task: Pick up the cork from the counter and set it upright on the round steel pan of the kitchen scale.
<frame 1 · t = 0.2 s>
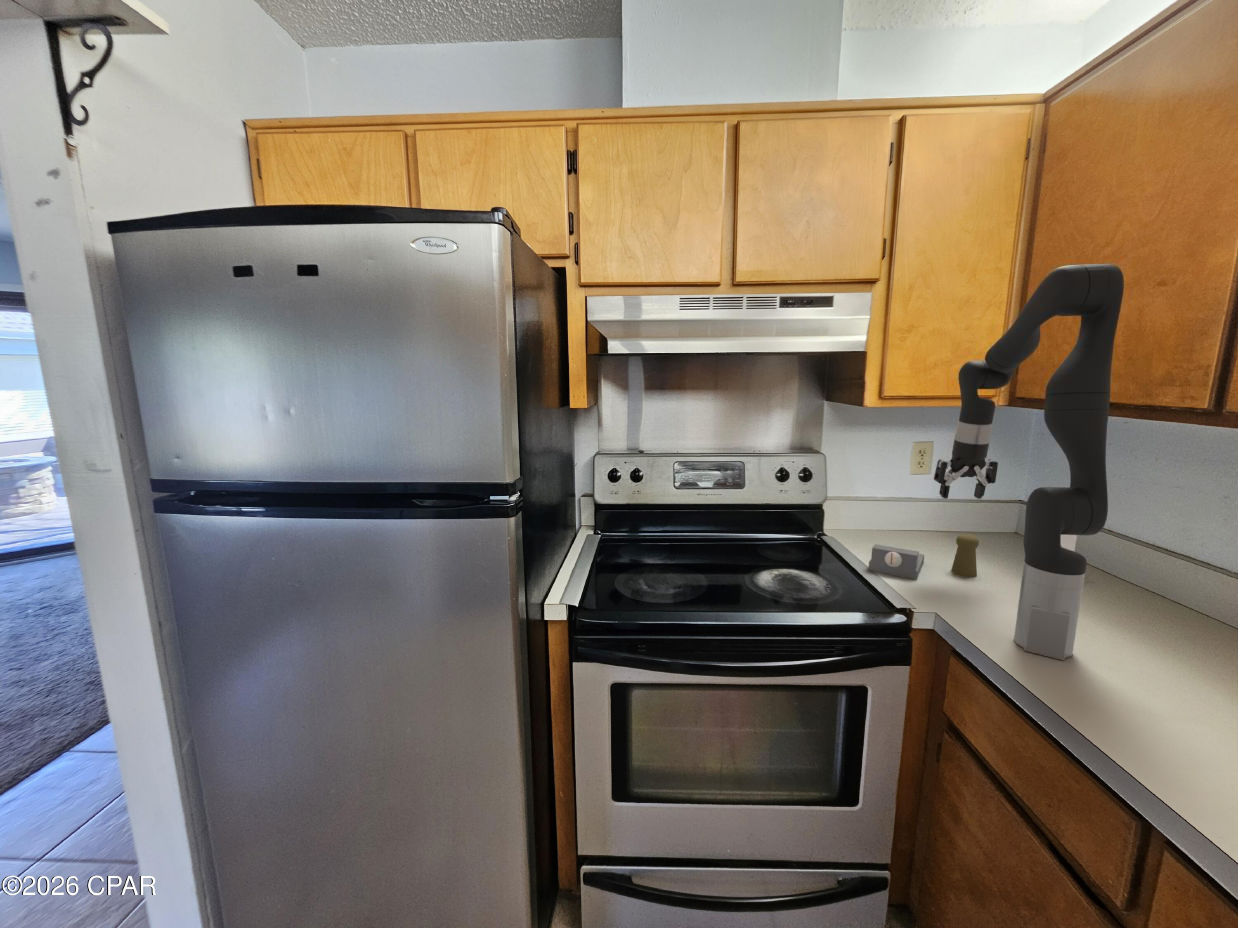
hand: (960, 497, 134), 22 cm above the worktop, tool pointing down, fingers open, 8 cm apart
milk: (1051, 569, 143), on the worktop
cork: (963, 573, 140), on the worktop
kitchen scale: (896, 566, 146), on the worktop
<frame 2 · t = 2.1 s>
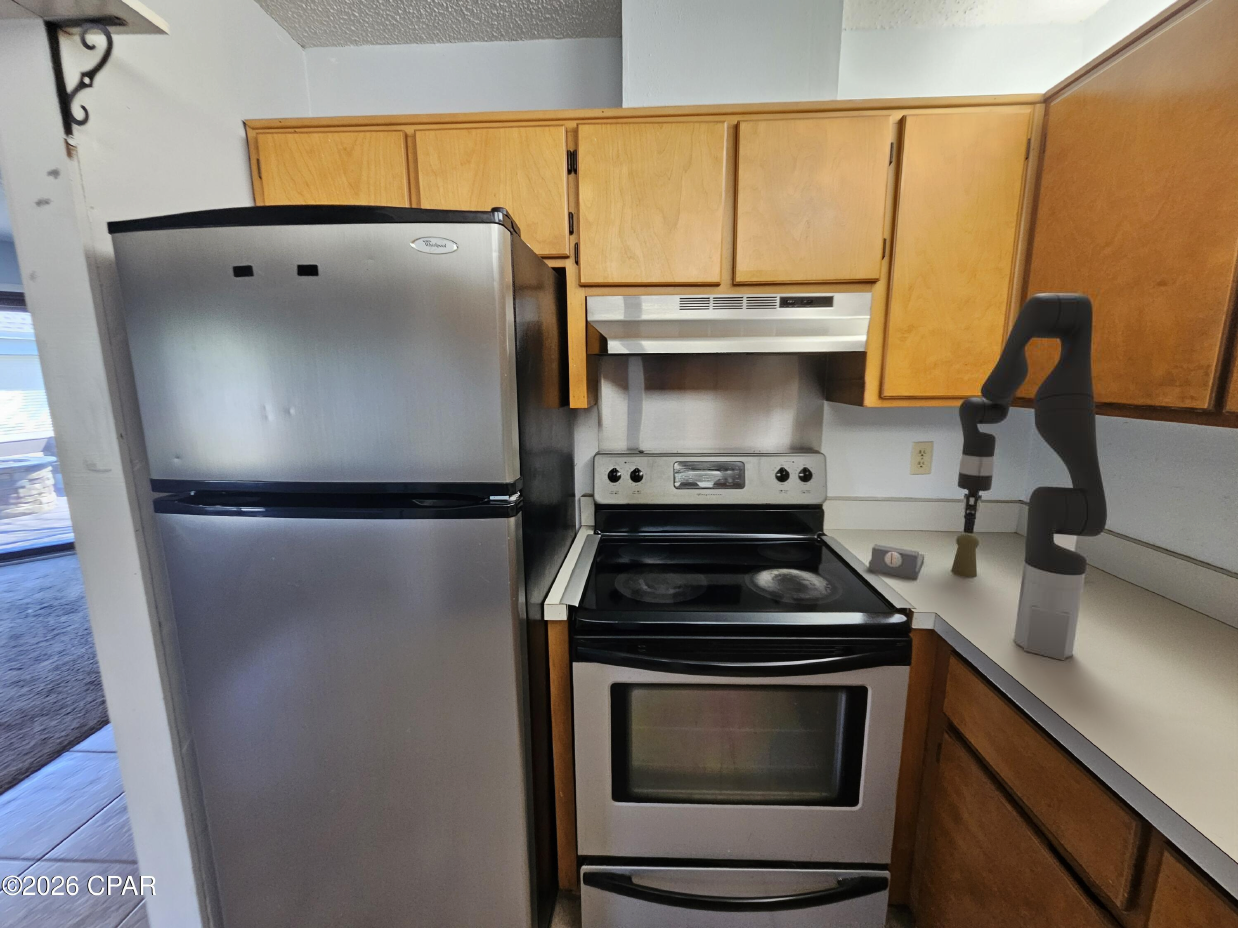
hand: (969, 528, 138), 13 cm above the worktop, tool pointing down, fingers open, 8 cm apart
nothing on the worktop moved.
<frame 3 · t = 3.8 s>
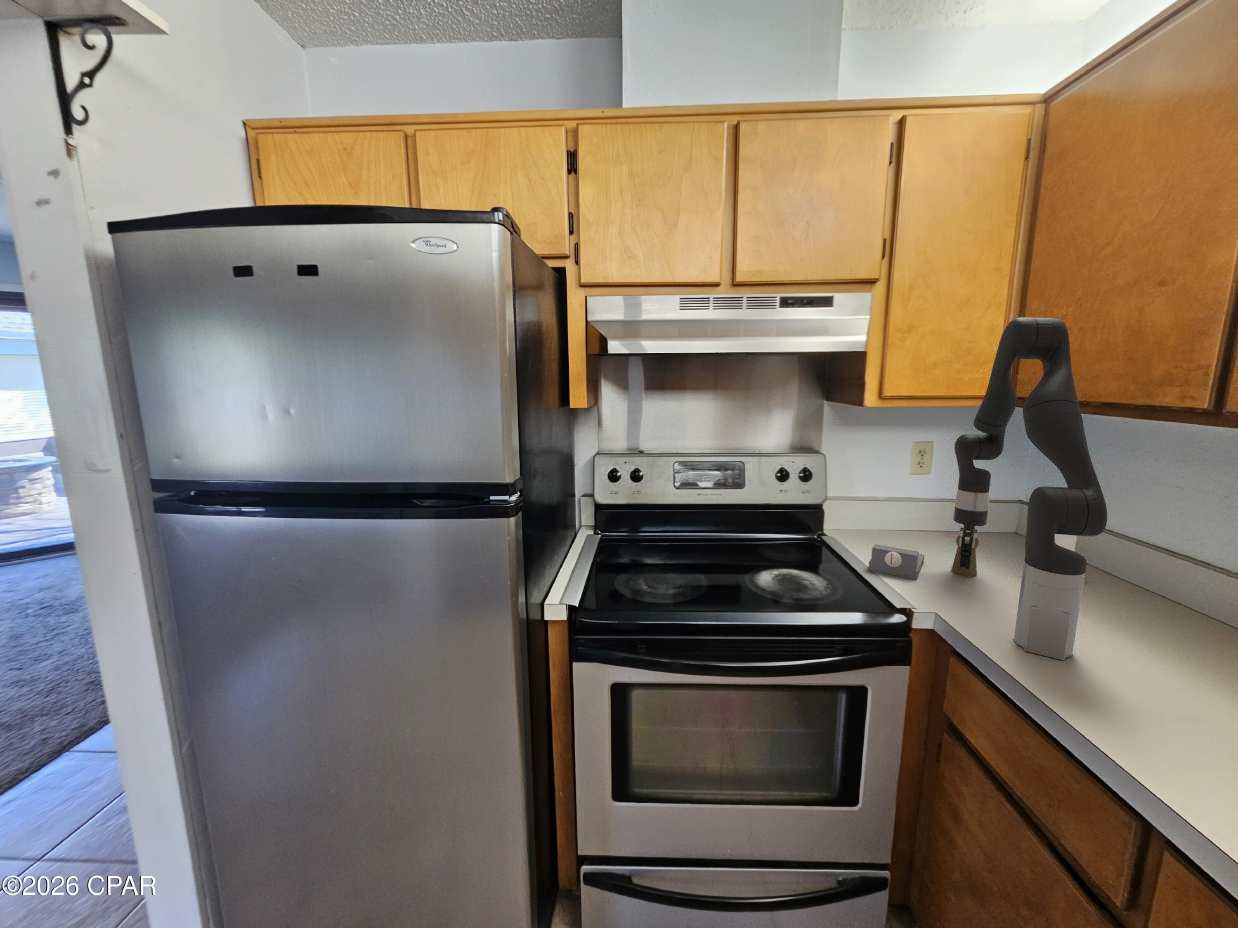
hand: (964, 565, 140), 2 cm above the worktop, tool pointing down, fingers closed on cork, 4 cm apart
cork: (963, 573, 140), on the worktop, touching gripper
everything else where it was.
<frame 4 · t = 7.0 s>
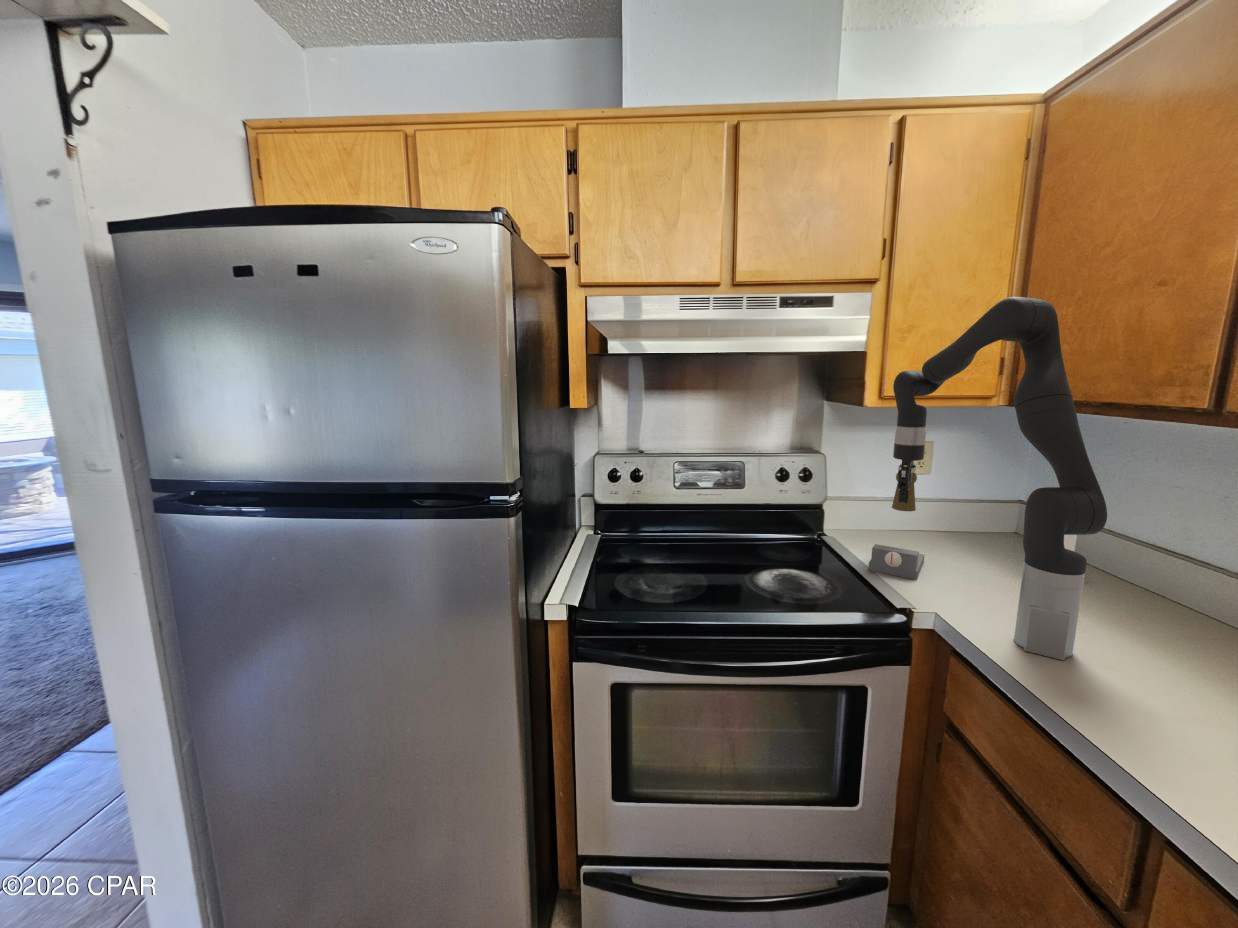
hand: (904, 501, 144), 19 cm above the worktop, tool pointing down, fingers closed on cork, 3 cm apart
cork: (903, 509, 145), point 17 cm above the worktop, touching gripper
everything else where it was.
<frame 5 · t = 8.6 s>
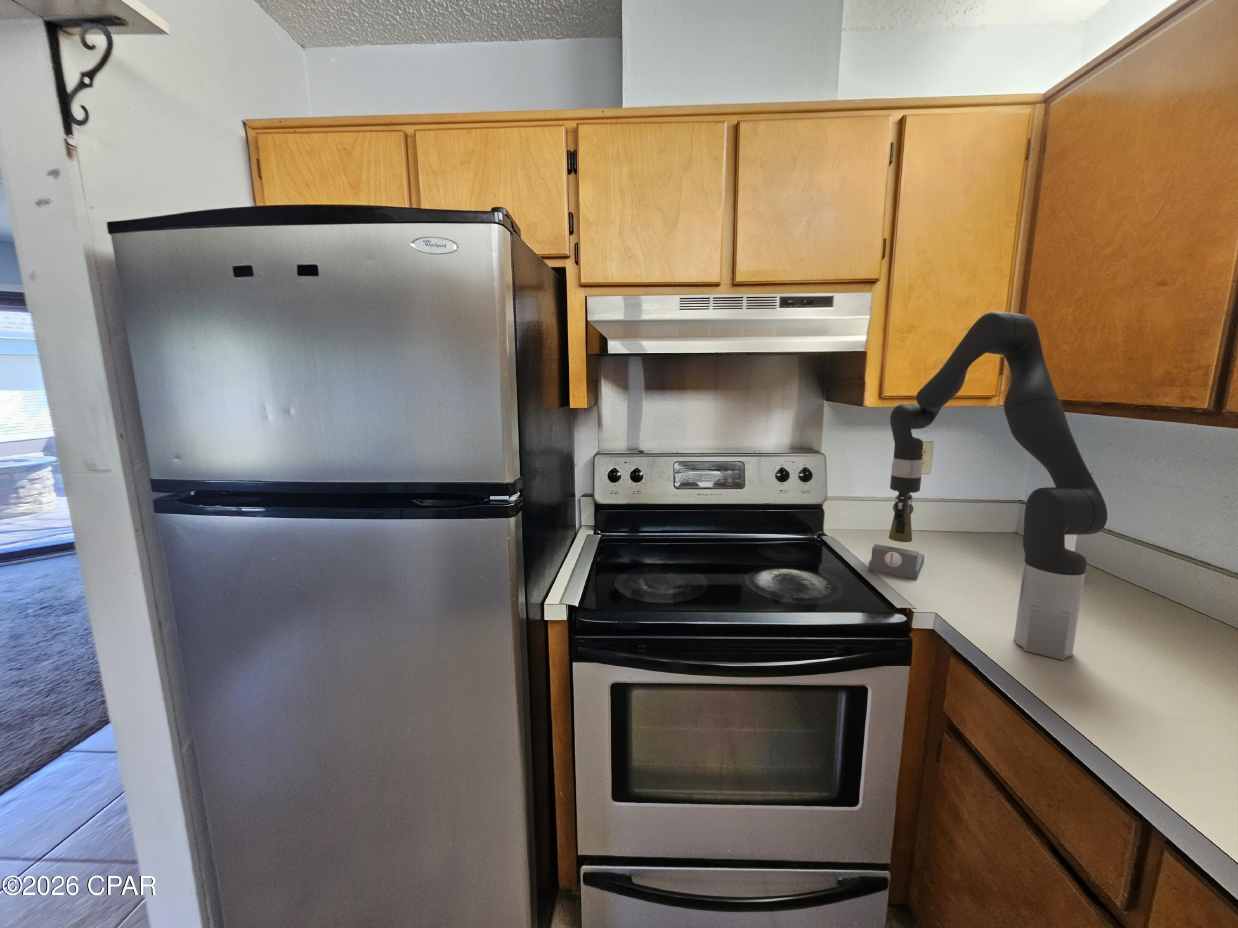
hand: (900, 531, 146), 10 cm above the worktop, tool pointing down, fingers closed on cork, 3 cm apart
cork: (900, 539, 146), point 8 cm above the worktop, touching gripper
everything else where it was.
when the fingers open (7 cm above the worktop, at t = 10.0 s): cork drops 2 cm, resting on kitchen scale.
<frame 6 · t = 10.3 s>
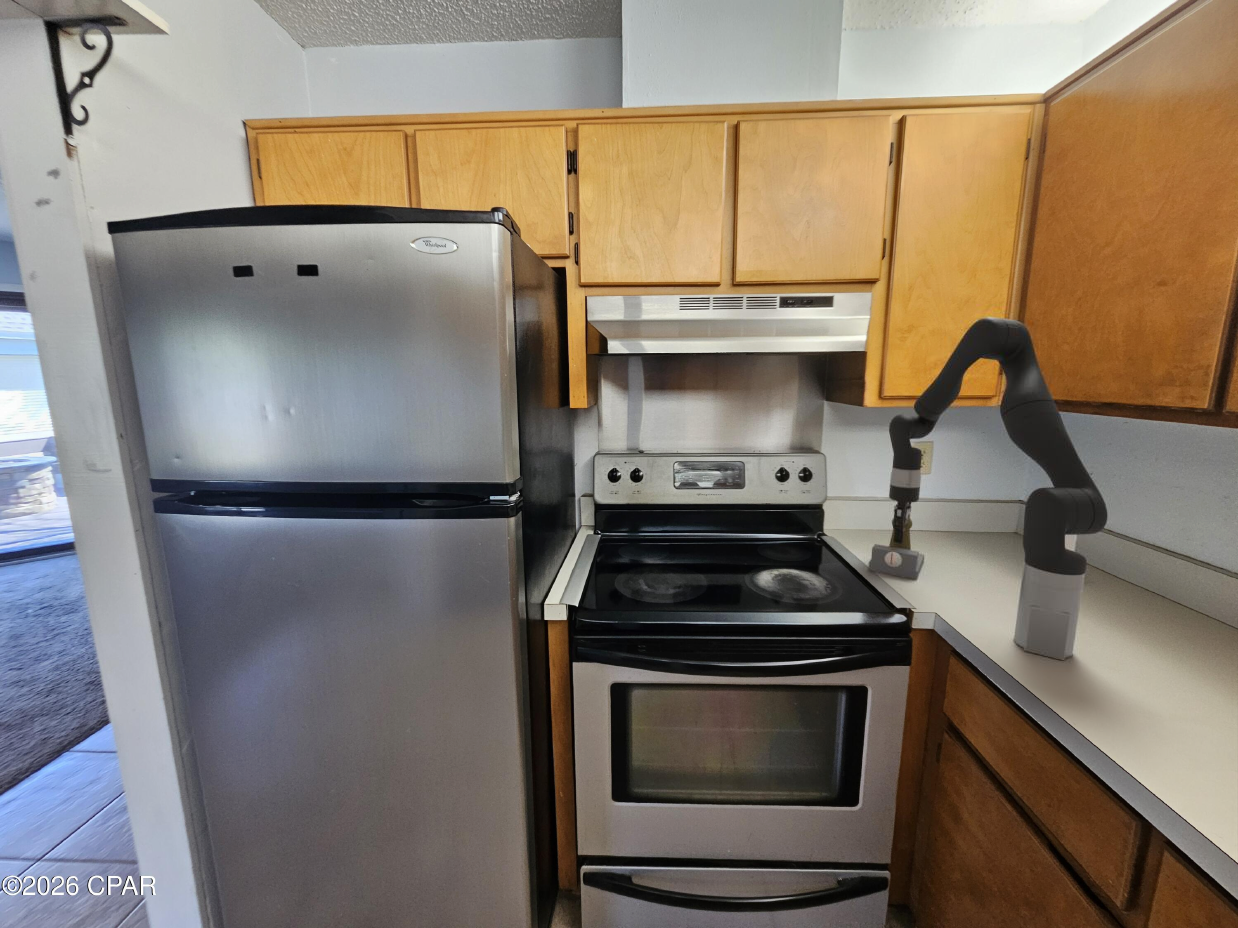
hand: (900, 539, 146), 8 cm above the worktop, tool pointing down, fingers open, 6 cm apart
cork: (899, 553, 147), point 3 cm above the worktop, touching kitchen scale
everything else where it was.
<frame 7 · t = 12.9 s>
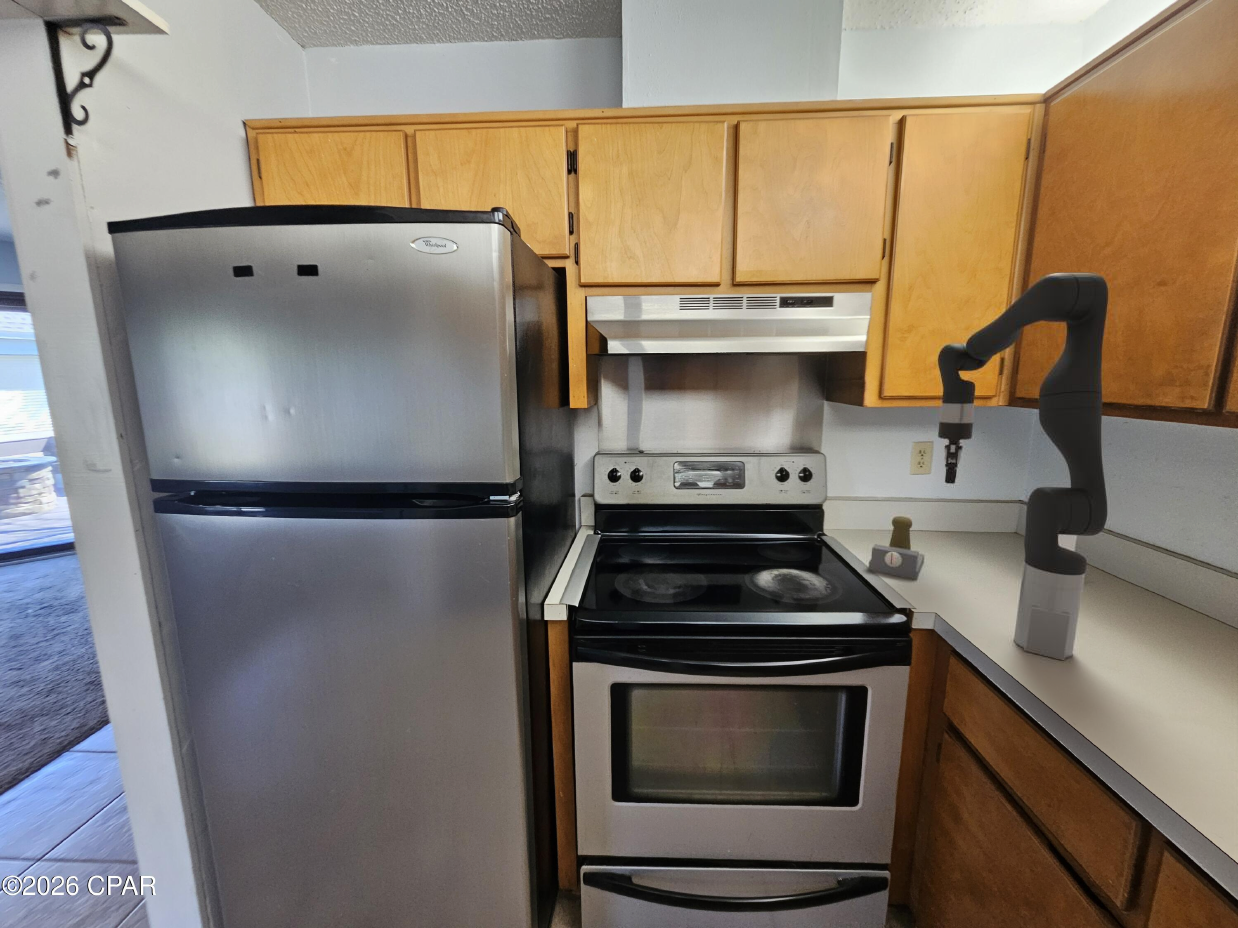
hand: (950, 480, 134), 27 cm above the worktop, tool pointing down, fingers open, 8 cm apart
nothing on the worktop moved.
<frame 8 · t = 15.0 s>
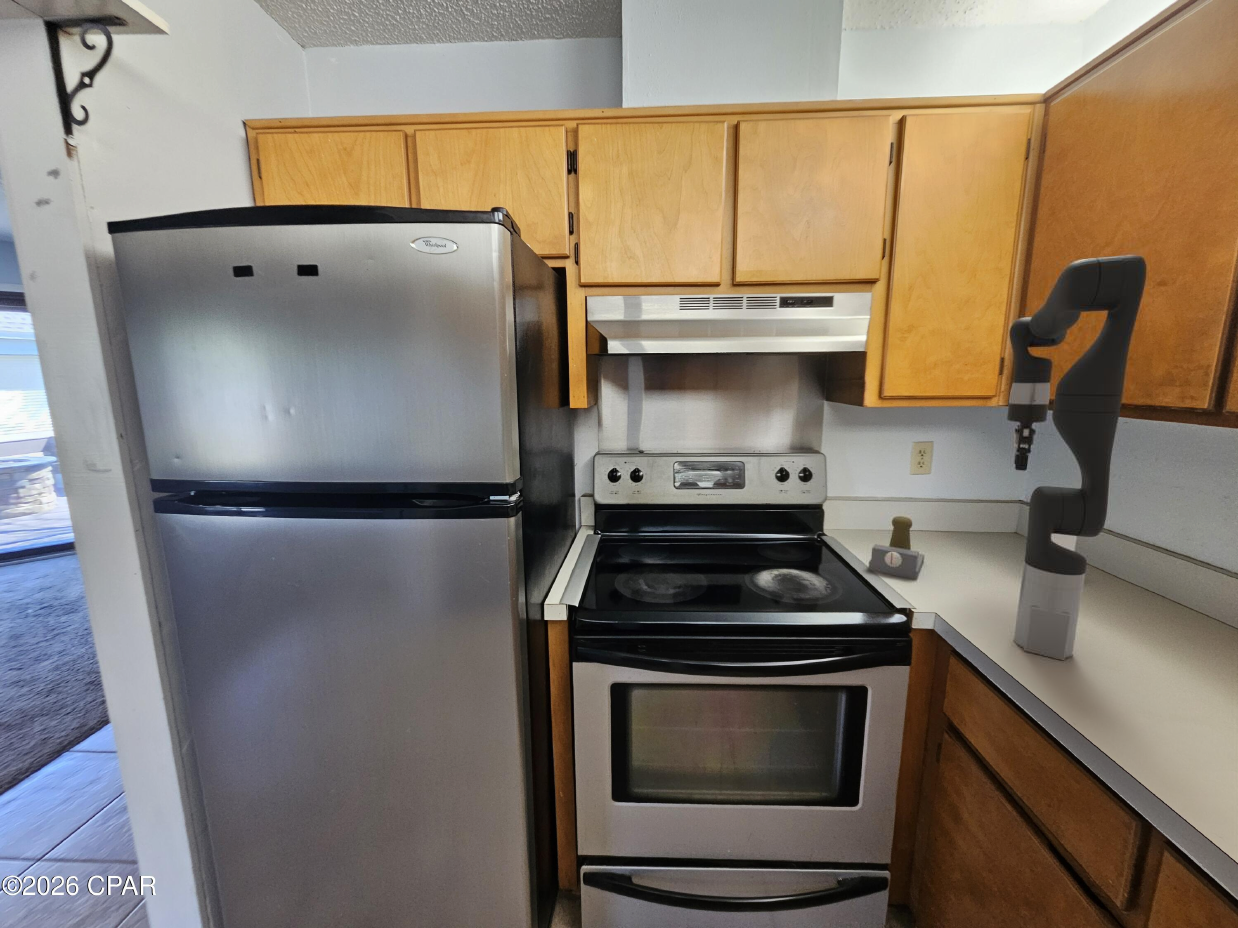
hand: (1020, 467, 124), 32 cm above the worktop, tool pointing down, fingers open, 8 cm apart
nothing on the worktop moved.
at the end: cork inside the target area on the kitchen scale (0.5 cm from its centre), point 3.0 cm above the kitchen scale's base; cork tilted 0°; the gripper is holding nothing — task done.
